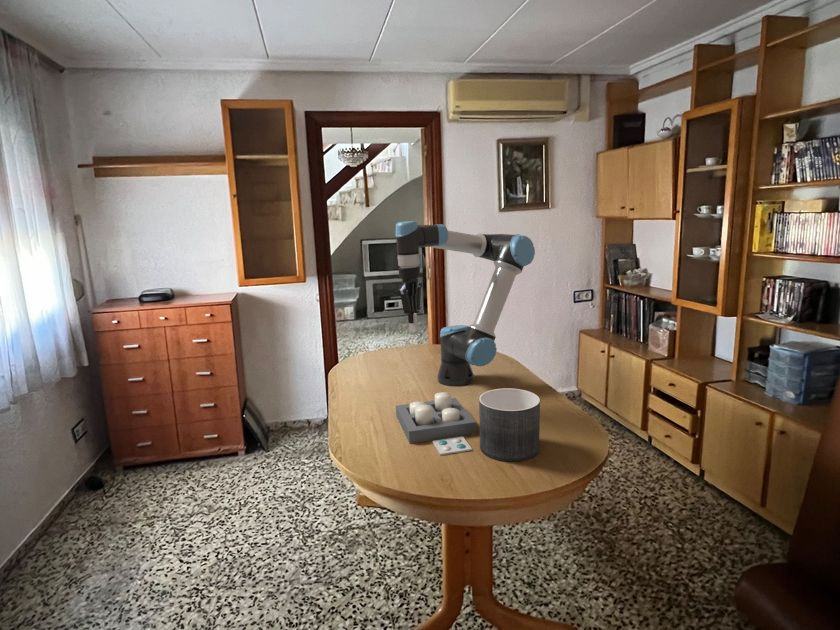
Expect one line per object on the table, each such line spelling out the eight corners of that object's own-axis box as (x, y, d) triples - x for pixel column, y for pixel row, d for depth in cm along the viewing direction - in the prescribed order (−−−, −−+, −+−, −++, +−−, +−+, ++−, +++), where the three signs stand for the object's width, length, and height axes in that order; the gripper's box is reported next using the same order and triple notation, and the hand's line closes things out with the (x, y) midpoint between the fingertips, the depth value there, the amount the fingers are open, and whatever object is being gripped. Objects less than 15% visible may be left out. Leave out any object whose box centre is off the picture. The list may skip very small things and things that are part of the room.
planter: (541, 463, 147) (541, 411, 143) (478, 460, 150) (477, 409, 147) (538, 435, 164) (538, 388, 160) (481, 433, 167) (480, 387, 164)
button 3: (448, 406, 183) (448, 391, 182) (453, 412, 178) (452, 396, 177) (433, 408, 182) (432, 393, 181) (437, 414, 177) (437, 399, 175)
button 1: (424, 415, 182) (423, 400, 180) (428, 421, 176) (427, 406, 175) (408, 417, 180) (407, 402, 179) (412, 424, 175) (411, 408, 174)
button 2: (430, 419, 173) (429, 403, 171) (434, 426, 167) (434, 410, 166) (414, 421, 171) (413, 406, 170) (418, 428, 166) (417, 412, 165)
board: (455, 408, 188) (455, 397, 187) (476, 433, 167) (475, 422, 166) (396, 416, 183) (395, 405, 182) (409, 443, 162) (409, 431, 161)
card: (462, 437, 165) (462, 435, 164) (472, 450, 156) (472, 448, 156) (432, 442, 162) (432, 440, 162) (440, 455, 154) (440, 453, 154)
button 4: (456, 422, 175) (456, 406, 174) (461, 428, 170) (461, 413, 169) (440, 424, 174) (440, 409, 173) (445, 431, 169) (444, 415, 167)
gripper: (409, 263, 189) (413, 326, 194) (390, 269, 178) (395, 335, 183) (427, 263, 185) (431, 327, 191) (408, 269, 174) (413, 336, 180)
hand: (413, 331), depth 187 cm, fingers closed
